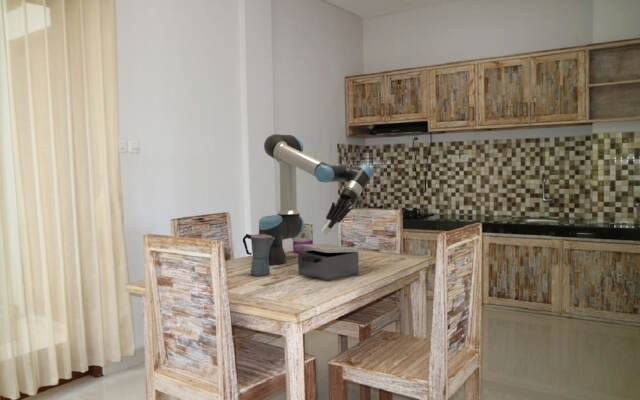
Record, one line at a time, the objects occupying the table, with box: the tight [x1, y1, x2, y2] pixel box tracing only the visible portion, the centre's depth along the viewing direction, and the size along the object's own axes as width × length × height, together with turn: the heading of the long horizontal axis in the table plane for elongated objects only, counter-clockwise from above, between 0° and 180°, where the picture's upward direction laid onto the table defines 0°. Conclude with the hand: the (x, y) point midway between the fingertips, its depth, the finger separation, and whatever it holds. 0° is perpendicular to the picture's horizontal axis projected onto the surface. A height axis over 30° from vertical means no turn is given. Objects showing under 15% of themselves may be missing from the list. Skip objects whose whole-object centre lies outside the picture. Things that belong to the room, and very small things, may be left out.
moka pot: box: [242, 230, 275, 277], centre depth 220 cm, size 10×15×20 cm, turn 78°
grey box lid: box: [297, 243, 361, 253], centre depth 217 cm, size 21×19×1 cm
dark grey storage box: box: [297, 250, 360, 282], centre depth 217 cm, size 20×20×10 cm
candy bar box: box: [291, 222, 314, 254], centre depth 278 cm, size 11×5×16 cm, turn 102°
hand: (323, 233), depth 215 cm, fingers closed
